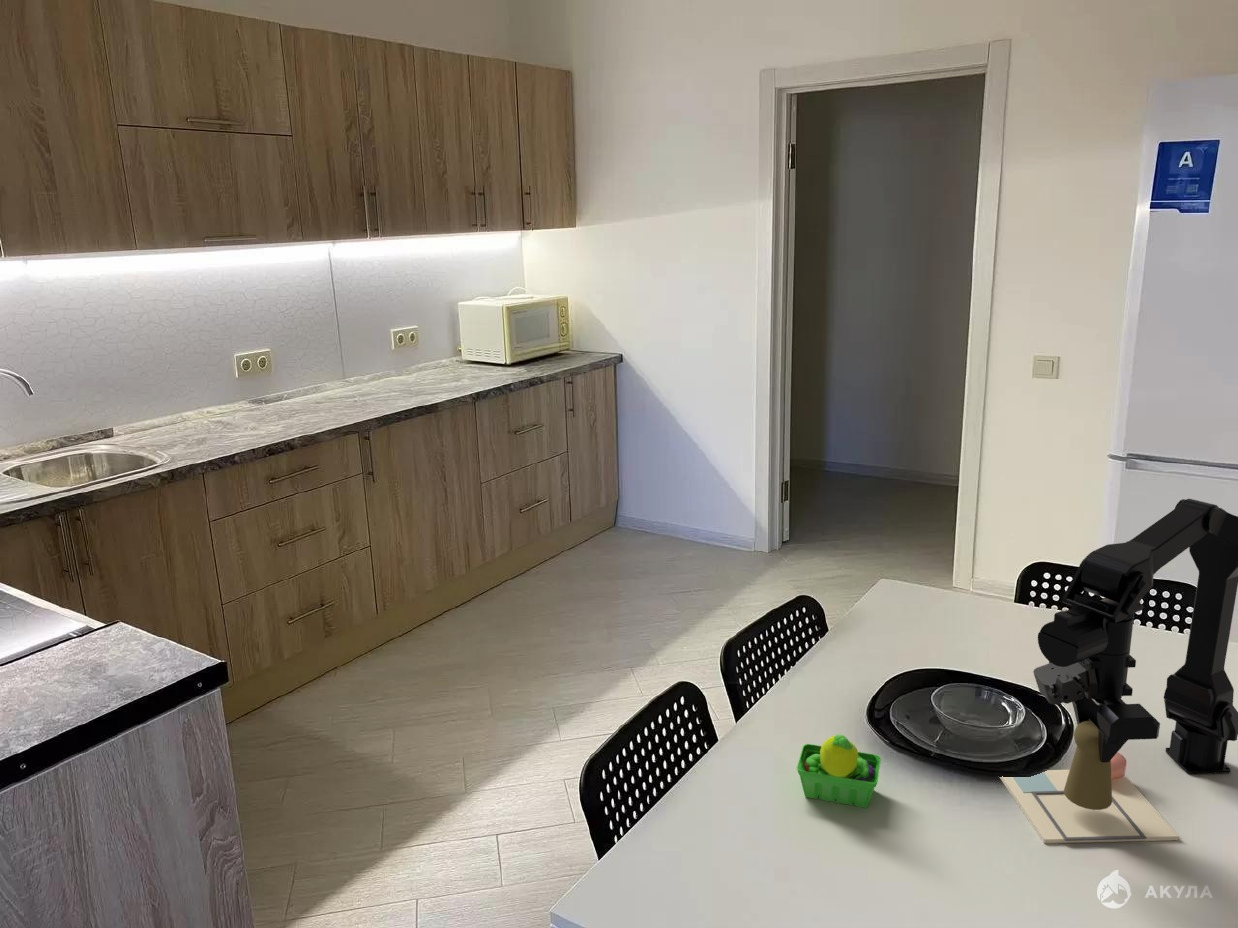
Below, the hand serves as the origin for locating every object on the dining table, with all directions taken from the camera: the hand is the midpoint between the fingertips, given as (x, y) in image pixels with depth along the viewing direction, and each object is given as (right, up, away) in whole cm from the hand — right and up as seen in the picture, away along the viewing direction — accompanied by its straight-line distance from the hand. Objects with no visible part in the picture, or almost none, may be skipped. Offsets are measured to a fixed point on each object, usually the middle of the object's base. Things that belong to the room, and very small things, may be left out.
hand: (1094, 750), depth 130 cm
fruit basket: (-33, -10, +10) cm, 36 cm away
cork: (0, -7, +2) cm, 8 cm away
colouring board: (+1, -10, +6) cm, 11 cm away
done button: (+7, -6, +11) cm, 14 cm away
